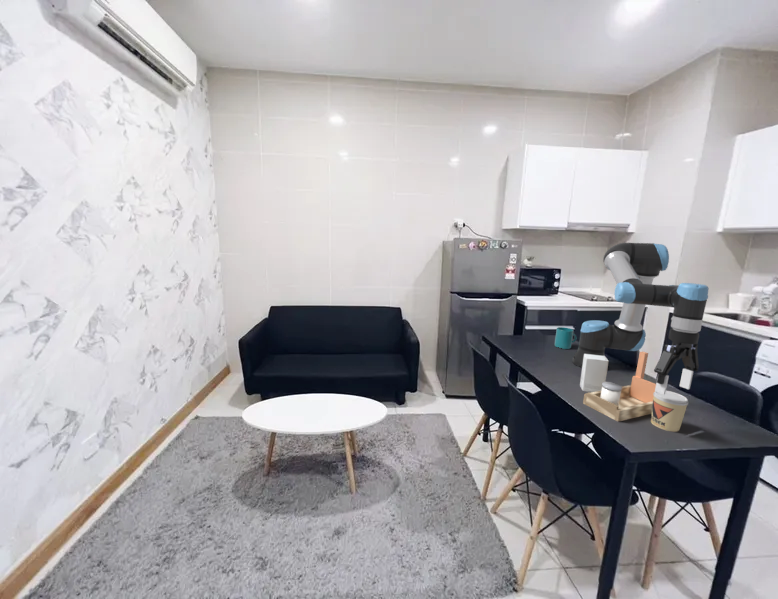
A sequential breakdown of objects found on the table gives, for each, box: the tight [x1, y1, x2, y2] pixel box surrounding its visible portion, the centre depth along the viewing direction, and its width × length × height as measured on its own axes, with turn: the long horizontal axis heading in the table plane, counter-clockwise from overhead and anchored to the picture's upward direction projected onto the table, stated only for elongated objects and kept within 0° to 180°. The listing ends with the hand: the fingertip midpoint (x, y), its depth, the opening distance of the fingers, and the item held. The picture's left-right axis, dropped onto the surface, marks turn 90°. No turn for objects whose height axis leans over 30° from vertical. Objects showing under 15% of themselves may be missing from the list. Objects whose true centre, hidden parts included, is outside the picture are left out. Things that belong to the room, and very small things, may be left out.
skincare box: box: [579, 354, 610, 393], centre depth 144 cm, size 8×7×16 cm
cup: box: [554, 326, 577, 350], centre depth 204 cm, size 9×12×11 cm
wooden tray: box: [582, 384, 653, 422], centre depth 131 cm, size 29×14×6 cm, turn 112°
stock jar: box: [600, 381, 622, 406], centre depth 127 cm, size 6×6×10 cm
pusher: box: [629, 351, 656, 403], centre depth 134 cm, size 4×11×19 cm, turn 22°
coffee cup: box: [650, 390, 689, 433], centre depth 118 cm, size 9×9×12 cm
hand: (672, 390), depth 116 cm, fingers open, 13 cm apart
